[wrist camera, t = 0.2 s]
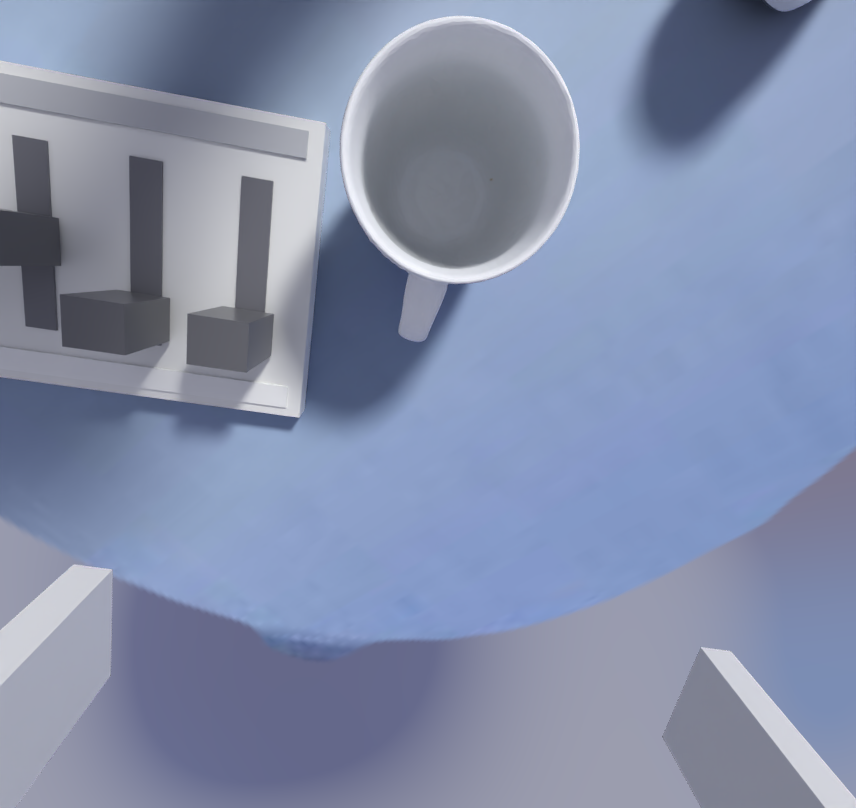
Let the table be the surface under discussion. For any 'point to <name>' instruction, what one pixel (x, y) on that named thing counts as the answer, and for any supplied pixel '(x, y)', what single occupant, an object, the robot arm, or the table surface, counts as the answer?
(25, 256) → the breaker
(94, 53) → the table surface
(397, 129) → the mug
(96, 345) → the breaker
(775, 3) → the spread jar
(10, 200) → the panel
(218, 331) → the breaker
